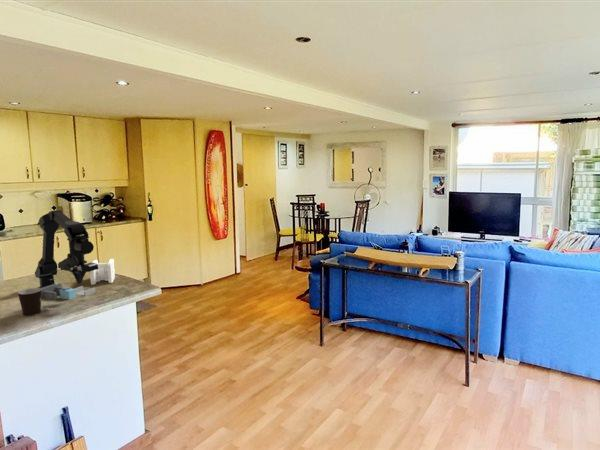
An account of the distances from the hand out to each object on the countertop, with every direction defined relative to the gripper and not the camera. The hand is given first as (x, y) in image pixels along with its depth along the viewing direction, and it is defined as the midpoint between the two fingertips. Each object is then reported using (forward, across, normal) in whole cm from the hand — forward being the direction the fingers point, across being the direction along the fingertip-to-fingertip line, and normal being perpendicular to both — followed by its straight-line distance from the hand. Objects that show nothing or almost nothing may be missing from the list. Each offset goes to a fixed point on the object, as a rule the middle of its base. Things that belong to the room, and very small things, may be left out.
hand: (79, 283), depth 195 cm
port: (+9, -16, 0) cm, 18 cm away
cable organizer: (+9, -14, +27) cm, 32 cm away
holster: (+9, -7, +8) cm, 14 cm away
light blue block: (+9, -8, 0) cm, 12 cm away
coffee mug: (+9, -7, -20) cm, 23 cm away
